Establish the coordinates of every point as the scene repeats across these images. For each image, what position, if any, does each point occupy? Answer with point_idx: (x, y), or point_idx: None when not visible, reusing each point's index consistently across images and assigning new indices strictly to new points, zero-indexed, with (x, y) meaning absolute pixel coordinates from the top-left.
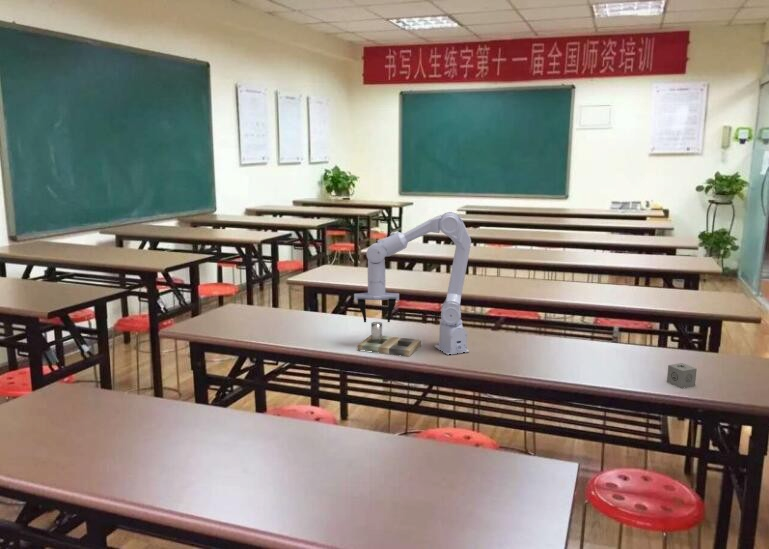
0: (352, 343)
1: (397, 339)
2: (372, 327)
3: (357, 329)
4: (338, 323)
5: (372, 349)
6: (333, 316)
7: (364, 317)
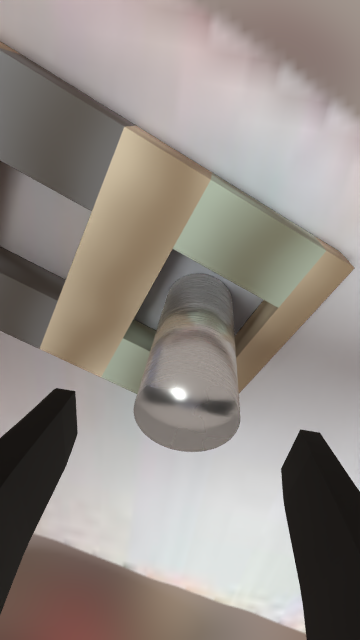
0: (323, 378)
1: (62, 323)
2: (232, 376)
3: (242, 518)
4: (297, 573)
5: (251, 199)
6: (292, 614)
7: (339, 477)
